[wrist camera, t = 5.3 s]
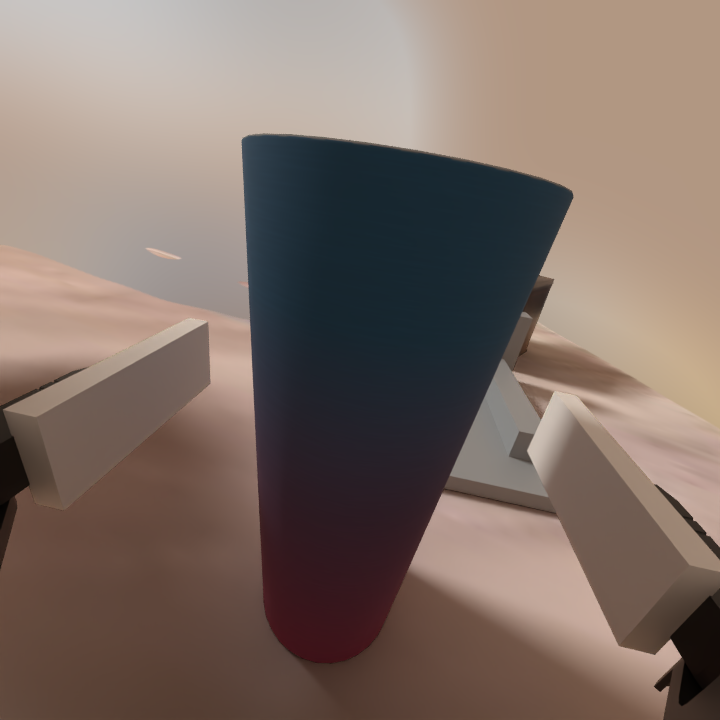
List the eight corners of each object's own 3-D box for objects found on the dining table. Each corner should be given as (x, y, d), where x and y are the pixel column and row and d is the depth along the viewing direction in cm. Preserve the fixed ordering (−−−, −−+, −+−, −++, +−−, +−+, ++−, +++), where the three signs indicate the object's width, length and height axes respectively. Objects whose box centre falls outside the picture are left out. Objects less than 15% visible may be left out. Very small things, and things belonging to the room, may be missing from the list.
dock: (272, 450, 21) (280, 314, 17) (334, 342, 37) (344, 261, 33) (578, 517, 19) (656, 387, 16) (502, 376, 36) (532, 296, 32)
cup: (439, 584, 15) (592, 207, 8) (334, 765, 10) (525, 145, 3) (324, 494, 18) (371, 178, 12) (201, 592, 13) (169, 126, 7)
